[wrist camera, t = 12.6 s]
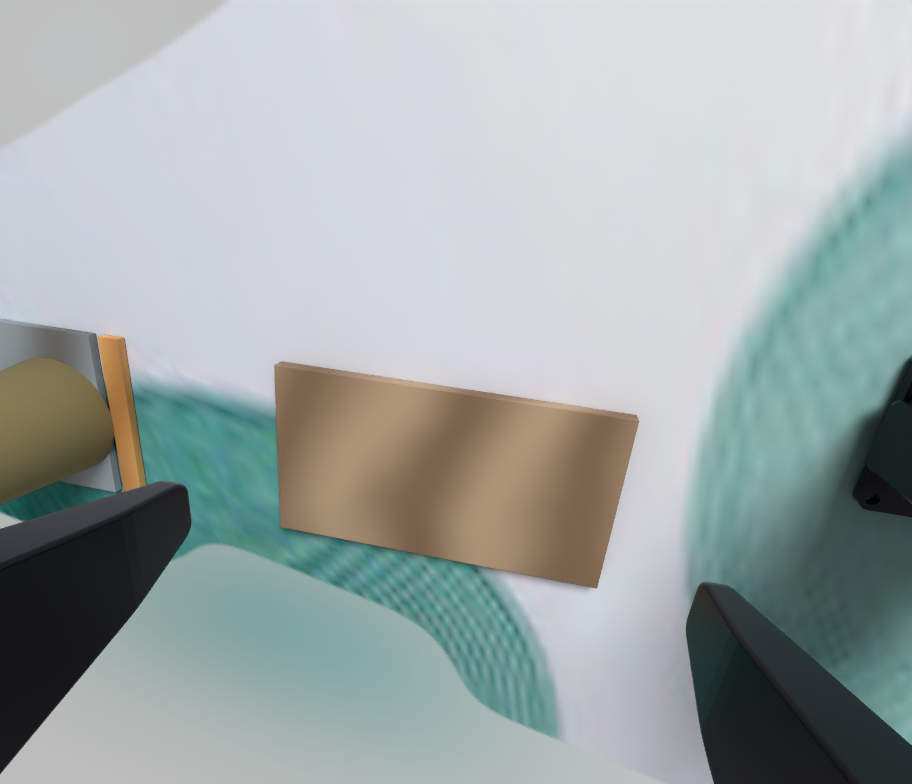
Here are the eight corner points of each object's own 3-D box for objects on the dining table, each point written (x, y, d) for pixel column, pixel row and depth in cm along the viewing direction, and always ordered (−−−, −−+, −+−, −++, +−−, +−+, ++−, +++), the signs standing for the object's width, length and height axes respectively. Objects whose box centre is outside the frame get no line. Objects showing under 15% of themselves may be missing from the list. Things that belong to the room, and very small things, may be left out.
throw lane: (636, 415, 21) (639, 421, 20) (595, 579, 24) (596, 588, 23) (-12, 317, 24) (-25, 319, 24) (26, 469, 28) (15, 475, 27)
